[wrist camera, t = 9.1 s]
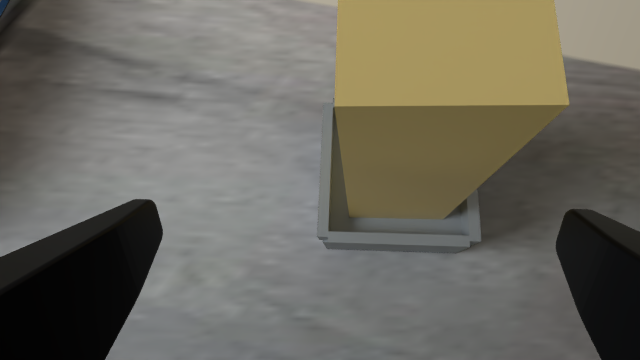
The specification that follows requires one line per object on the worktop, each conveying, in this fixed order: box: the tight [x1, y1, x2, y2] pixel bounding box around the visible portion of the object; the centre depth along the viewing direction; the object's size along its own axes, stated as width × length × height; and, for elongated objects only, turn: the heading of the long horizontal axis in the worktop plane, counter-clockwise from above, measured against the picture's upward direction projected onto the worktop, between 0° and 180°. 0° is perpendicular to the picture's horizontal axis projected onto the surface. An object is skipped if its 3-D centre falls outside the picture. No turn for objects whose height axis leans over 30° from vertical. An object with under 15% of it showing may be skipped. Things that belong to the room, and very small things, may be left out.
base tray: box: [317, 98, 481, 253], centre depth 21 cm, size 7×7×4 cm
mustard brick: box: [334, 0, 569, 220], centre depth 14 cm, size 4×4×12 cm
